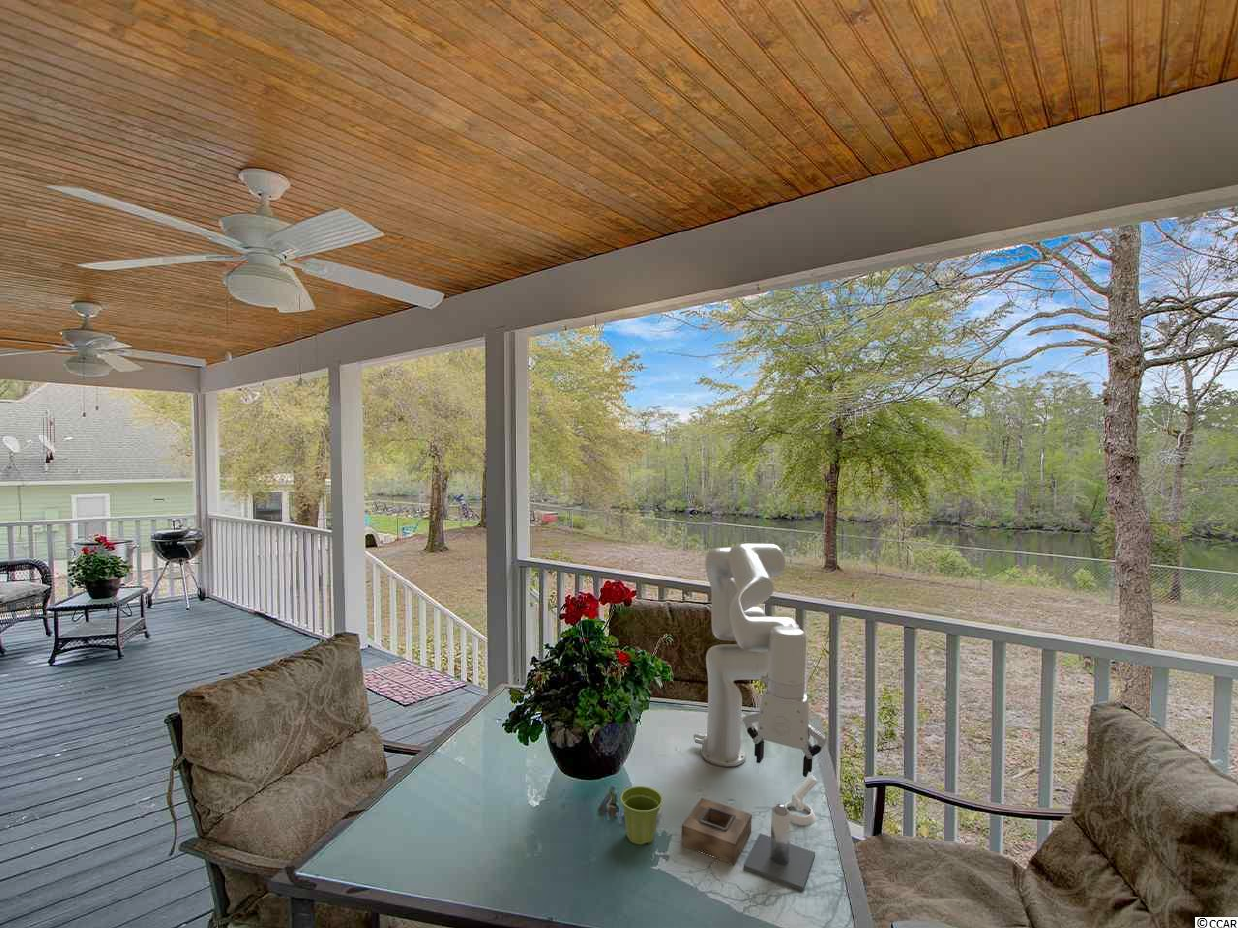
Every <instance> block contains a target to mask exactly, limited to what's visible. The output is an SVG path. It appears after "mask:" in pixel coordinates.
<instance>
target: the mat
mask: <svg viewBox="0 0 1238 928" xmlns="http://www.w3.org/2000/svg"><path fill="white" fill-rule="evenodd" d="M770 855H771V836H770V835H767V834H764V833H759V834H758V836H757V838H756V840H755V842H754V844H753V846H752V847H751V850H750V852H749V854H748V856H747V858H746V860H745V862H744V864H743V870H745V871H749V872H751V873H753V874H755V875H758V876H762V877H764V878H767V879H769V880H773V881H774V882H777V883H779V884H783V885H786V886H788V887H791V888H793V889H795V890H799V891H801V892H804V890H805V886H806V884H807V880H808V878H809V875H810V872H811V869H812V865H813V863H814V860H815V858H816V851H813V850H809V849H807V848H803V847H801V846H798V845H795V844H792V843H790V844H789V862H788V863H787V864H784V865H781V864H777V863H775V862H773V861H772V859H771V857H770Z"/></svg>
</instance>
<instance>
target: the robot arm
mask: <svg viewBox="0 0 1238 928" xmlns="http://www.w3.org/2000/svg"><path fill="white" fill-rule="evenodd" d="M704 565H705V572H706V576H707V579H708V582H709V586H710V591H711V614H710V615H711V616H710V617H711V619H710V620H711V621H710V622H711V632H712V635H713V636H714V637H715V638H716V639H718V640H721V641H735V642H736V643H735V644H731V643H729V644H715V645H713V646H711V647H710V648H708V650H707V651H706V655H705V665H706V672H707V684H708V685H707V686H708V687H707V688H708V689H707V692H708V694H707V726H706V733H704V734H703V733H701V732H696V731H695V732H694V733H693V740H694V743H696V744H700V745H701V749H700V754H701V757H702V758H703V759H704V760H705V761H706V762H708V763H710V764H712V765H716V766H720V767H730V768H731V767H737V766H739V765H741V764H743V763H744V762H745V761H746V759H747V757H746V755H747V754H746V751H745V749H743V748H742V747H741V743H742V742H741V741H742V738H741V737H742V736H741V735H742V722H743V725H744V727H745V728H746V731H747V734H748V735H749V737H750V738H751V739H752V742H753V744H754V757H756V764H761V762H762V761H763V759H764V756H765V755H764V754H765V753H764V752H765V741H768V742H771V743H774V744H778V745H782V746H785V747H789V748H792V749H797V750H802V752H803V754H804V756H803V758H802V760H803V761H802V762H803V763H802V776H803V777H804V778H808V774H809V773H812V771H813V759H814V758H813V757H815V756H816V755H817V754H819V753H821V752H822V749H823V748H824V747H825V745H826V744H827V743H828V738H827V736H825V735H824V734H823V733H821V732H820V731H819V730H817V729H816V728H815V727H814V726H812V725H811V720H810V719H811V718H810V717H811V716H810V715H811V714H810V706H809V705H810V704H809V700H808V695H807V694H806V693H805V685H806V684H805V681H806V680H805V679H806V662H807V661H806V659H807V636H806V633H805V632H804V631H803V630H802V629H800V626H799V624H797V622H796V620H795V619H794V618H792V617H789V616H770V615H769V616H768V615H766V612H765V611H764V610H763V609H762V608H761V607H759V605H761V604H763V603H765V602H766V601H768V600H769V598H771V596H772V595H773V593H774V590H775V587H774V586H775V585H774V582H773V580H772V578H777V577H780V576H781V575H782V574H783V573H784V571H785V568H786V558H785V554H784V552H783V551H782V549H781V548H780V547H779V546H778V545H776V544H774V543H753V542H752V543H751V542H749V543H748V542H747V543H739V544H736V545H734V546H732V547H730V546H729V547H727V546H726V547H715V548H712V549H710V550H709V551H708V552H707V553H706V555H705V563H704ZM739 680H742V681H743V680H744V681H745V680H747V681H748V680H751V681H752V680H753V681H755V680H760V683H763V684H764V685H765V688H764V689H763V690H762V693H761V698H760V704H759V710H758V712H757V713H754V714H750V715H747V716H746V715H745V717H744V718H743V719H742V711H743V710H742V707H743V696H742V692H741V690H740V688H739V687H738V686H737V685H736V684H735V683H734V682H735V681H739ZM742 720H743V721H742ZM756 722H757V729H756V727H755V726H754V725H753V723H756ZM810 736H811V737H812V738H814V739H815V740H816V741H817V743H816V744H814V745H813V744H811V742H810V741H809V739H810Z"/></svg>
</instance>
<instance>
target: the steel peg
mask: <svg viewBox="0 0 1238 928" xmlns="http://www.w3.org/2000/svg"><path fill="white" fill-rule="evenodd" d="M790 812H791V811H790V810H789V809H788V808H786V807H785V804H783V803H777V804H776V805H775V806H773V807H772V808H771V817H770V823H771V825H770V826H771V827H770V837H771V855H770V857H771V859H772V861H773V862H775V863H777V864H781V865H784V864H787V863H788V862H789V844H791V843H790V839H791V837H790V835H791V822H790Z"/></svg>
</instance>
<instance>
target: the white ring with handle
mask: <svg viewBox="0 0 1238 928" xmlns="http://www.w3.org/2000/svg"><path fill="white" fill-rule="evenodd" d="M817 782H818V780H817V778H816V777H815V776H814V775H813V774H810V775H809V776H807V777H806V779H805V780H804V781H803V783H801V785H799V787H797V789H795V791H794V793H793V794H792V795H791V801H788V802H786V803H785V804H784V806H785V807H786V808H787V809H788V808H790V807H794V808H795V809H796V811H799V812H803V811H804V810H806V811H807V812H809V814H808V815H797V814H795V813H793V812H791V811H790V823H793V824H796V825H798V826H809V825H811V824H814V823H815V822H816V814H815V812H814V810H813V808H812V807H811V806H810V805H809V804H808V803H806V802H803V799H804V798H805V797H806V796H807V794H808V793H809V792H810V791H811V790H812V789H813V788H814V787H815V786H816V785H817Z"/></svg>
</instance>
